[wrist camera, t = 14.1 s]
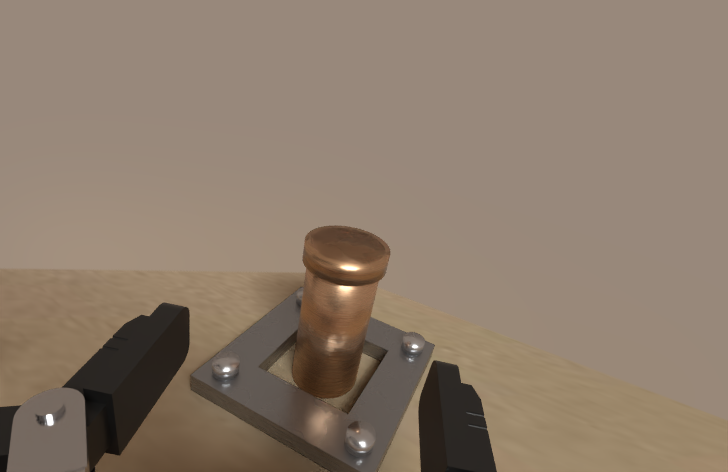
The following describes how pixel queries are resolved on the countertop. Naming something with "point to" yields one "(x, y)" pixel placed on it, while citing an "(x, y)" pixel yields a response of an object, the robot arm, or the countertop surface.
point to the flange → (305, 412)
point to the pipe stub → (336, 307)
